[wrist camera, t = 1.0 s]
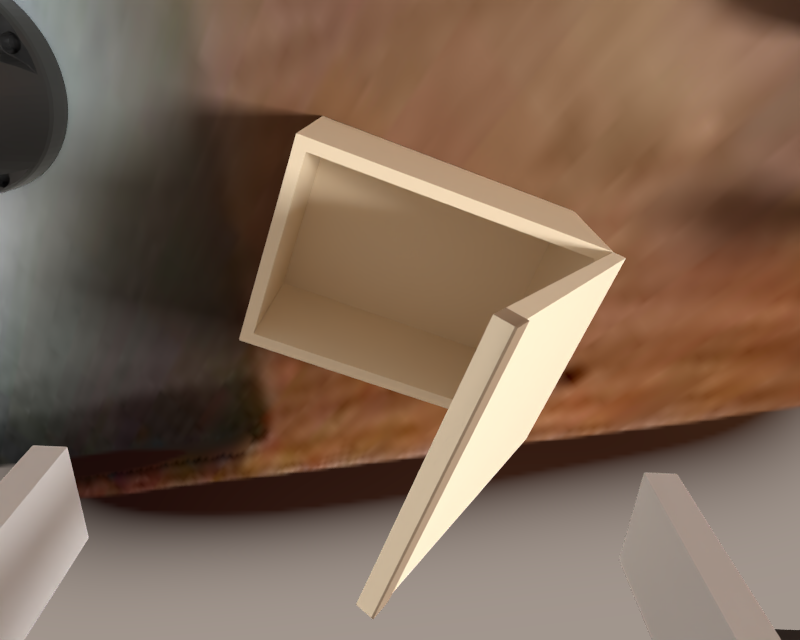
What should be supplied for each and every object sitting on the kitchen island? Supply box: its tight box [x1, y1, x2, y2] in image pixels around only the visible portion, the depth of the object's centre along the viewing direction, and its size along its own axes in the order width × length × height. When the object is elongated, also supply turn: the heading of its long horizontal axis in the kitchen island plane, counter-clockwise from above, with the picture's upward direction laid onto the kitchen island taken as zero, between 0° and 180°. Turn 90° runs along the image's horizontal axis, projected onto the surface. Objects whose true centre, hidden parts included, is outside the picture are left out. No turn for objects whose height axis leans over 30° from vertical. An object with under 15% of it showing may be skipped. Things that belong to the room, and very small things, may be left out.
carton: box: [239, 116, 613, 409], centre depth 42 cm, size 20×14×10 cm
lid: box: [356, 252, 626, 619], centre depth 30 cm, size 20×14×1 cm
